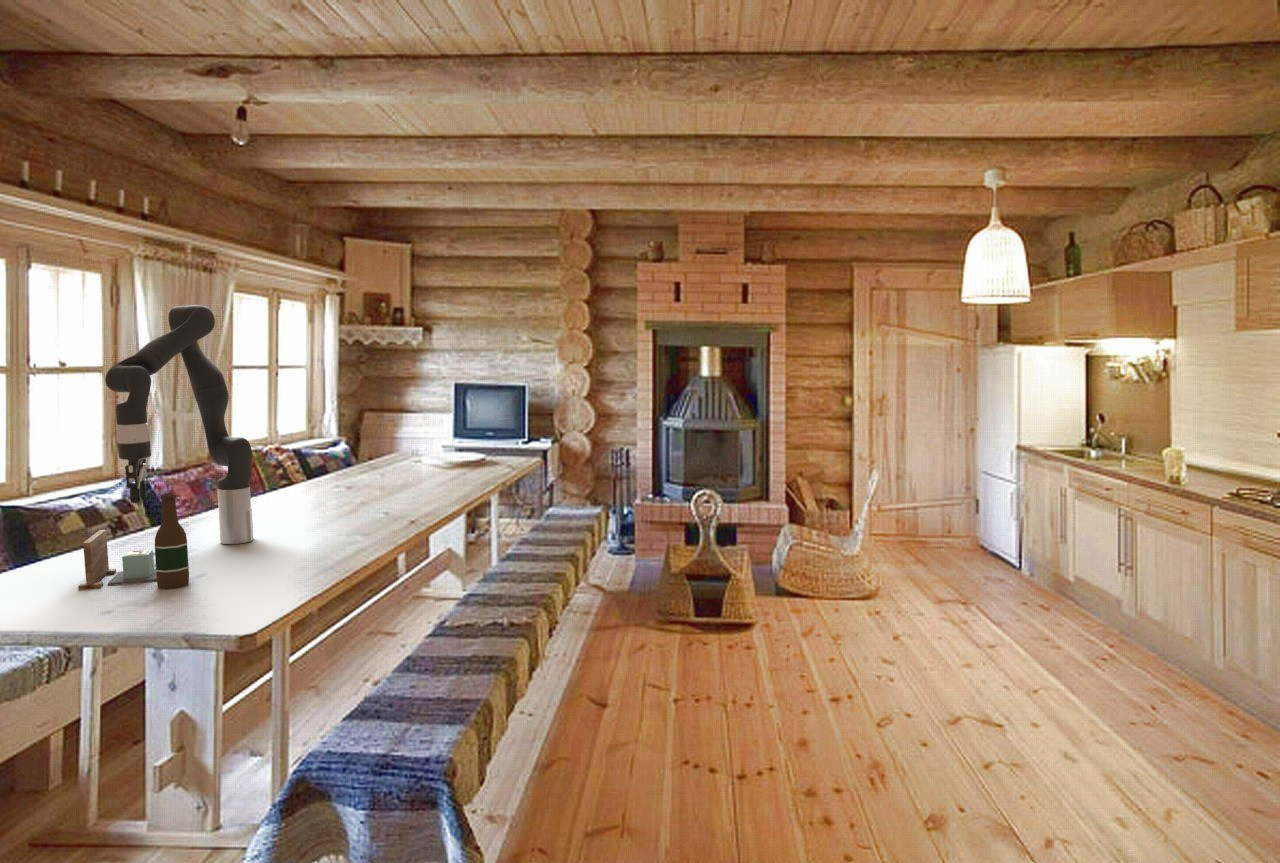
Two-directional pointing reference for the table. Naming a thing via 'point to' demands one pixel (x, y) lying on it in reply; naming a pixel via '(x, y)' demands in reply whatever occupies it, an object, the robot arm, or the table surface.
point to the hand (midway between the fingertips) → (138, 499)
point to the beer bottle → (171, 548)
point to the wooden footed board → (96, 561)
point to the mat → (131, 579)
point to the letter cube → (138, 564)
